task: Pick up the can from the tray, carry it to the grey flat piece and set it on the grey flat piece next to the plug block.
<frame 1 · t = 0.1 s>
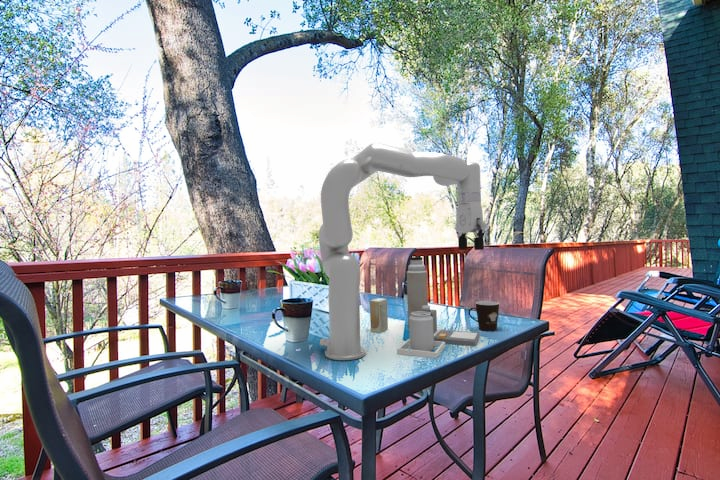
hand: (470, 249, 128), 31 cm above the table, tool pointing down, fingers open, 9 cm apart
skincare box: (379, 331, 144), on the table
grey flat piece: (445, 338, 131), on the table
tray: (421, 350, 118), on the table
plug block: (426, 332, 134), point 2 cm above the table, touching grey flat piece
coffee mug: (483, 329, 143), on the table
can: (421, 351, 118), resting in tray
thermos bottle: (418, 328, 147), on the table
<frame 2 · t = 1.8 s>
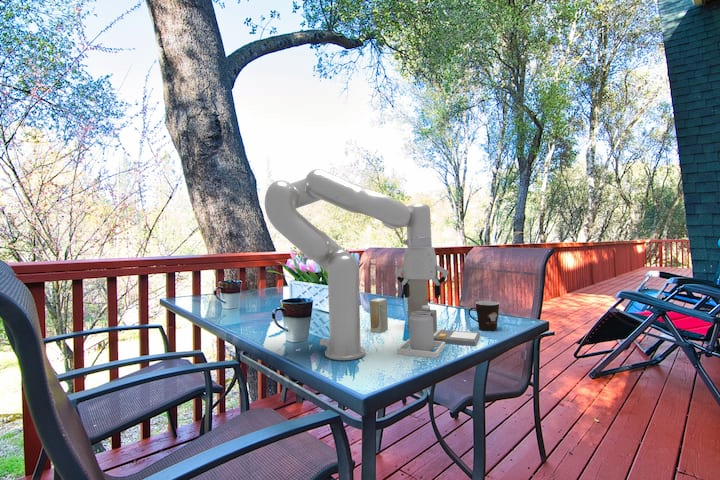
hand: (421, 297, 118), 17 cm above the table, tool pointing down, fingers open, 9 cm apart
nothing on the table moved.
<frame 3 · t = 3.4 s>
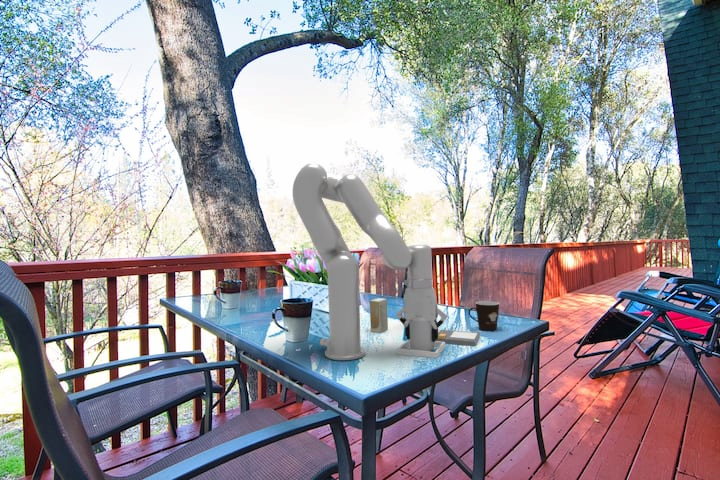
hand: (421, 339, 118), 3 cm above the table, tool pointing down, fingers closed on can, 7 cm apart
can: (421, 351, 118), resting in tray, touching gripper
everything else where it was.
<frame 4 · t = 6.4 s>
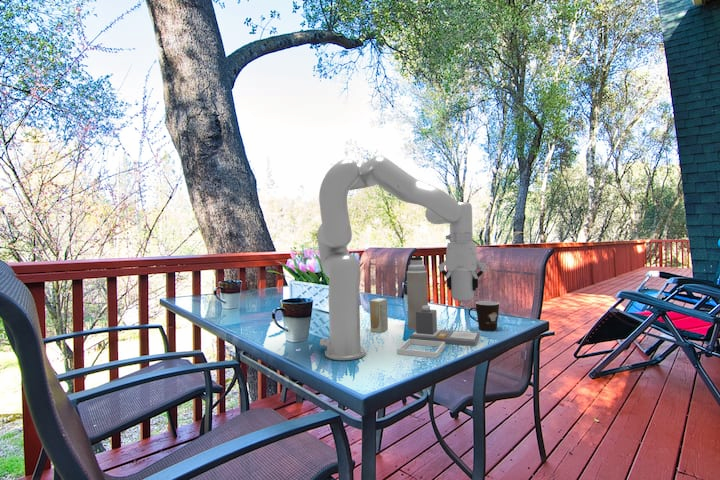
hand: (462, 289, 128), 17 cm above the table, tool pointing down, fingers closed on can, 7 cm apart
can: (462, 300, 128), point 14 cm above the table, touching gripper
everything else where it was.
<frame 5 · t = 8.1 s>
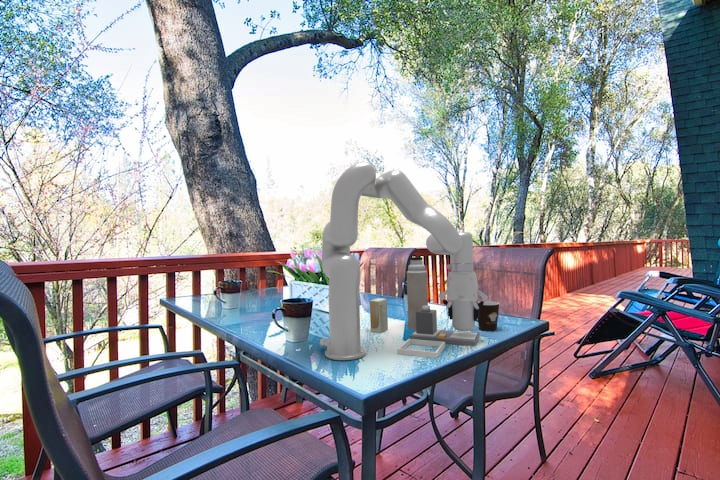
hand: (463, 319, 128), 7 cm above the table, tool pointing down, fingers closed on can, 7 cm apart
can: (463, 329, 128), point 4 cm above the table, touching gripper
everything else where it was.
when the fingers open (6 cm above the table, at t = 9.4 s): can stays where it is, resting on grey flat piece.
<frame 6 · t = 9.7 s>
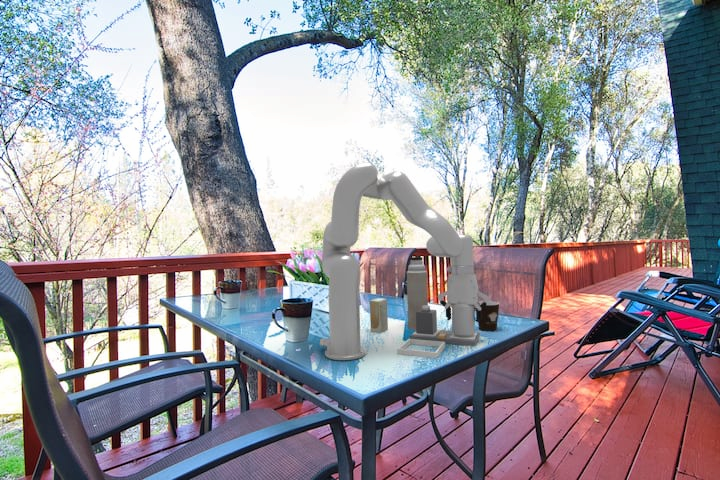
hand: (463, 320, 128), 7 cm above the table, tool pointing down, fingers open, 9 cm apart
can: (463, 335, 128), point 2 cm above the table, touching grey flat piece
everything else where it was.
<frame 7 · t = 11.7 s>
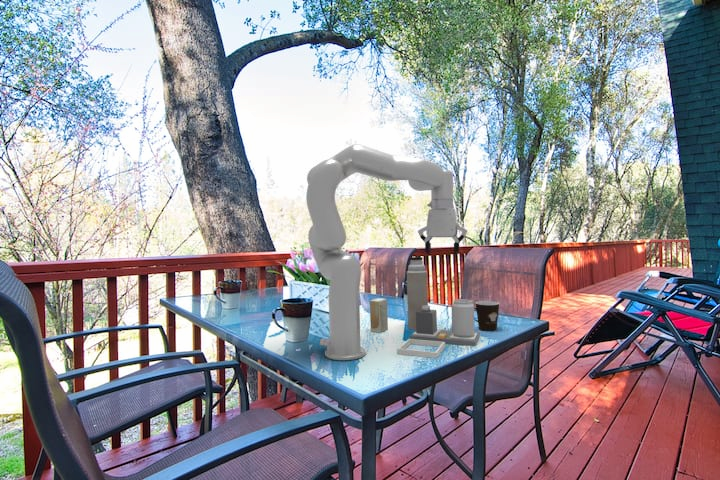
hand: (442, 254, 131), 30 cm above the table, tool pointing down, fingers open, 9 cm apart
nothing on the table moved.
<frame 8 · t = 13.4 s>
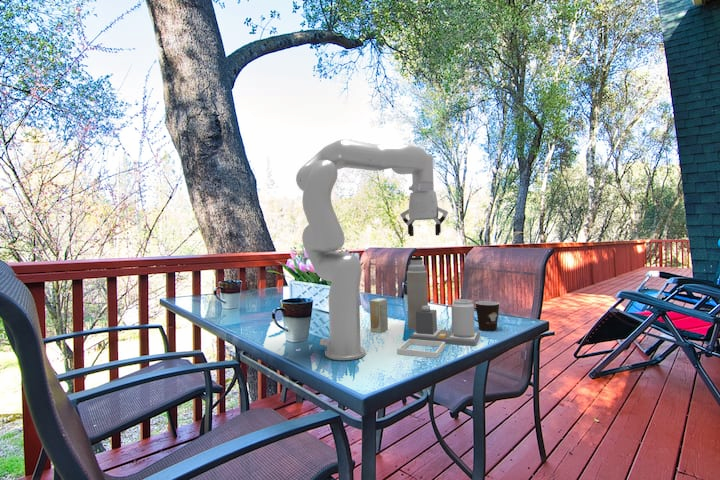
hand: (424, 235, 136), 36 cm above the table, tool pointing down, fingers open, 9 cm apart
nothing on the table moved.
at the end: can inside the target area (0.2 cm from its centre), point 1.6 cm above the table; can tilted 0°; the gripper is holding nothing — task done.
